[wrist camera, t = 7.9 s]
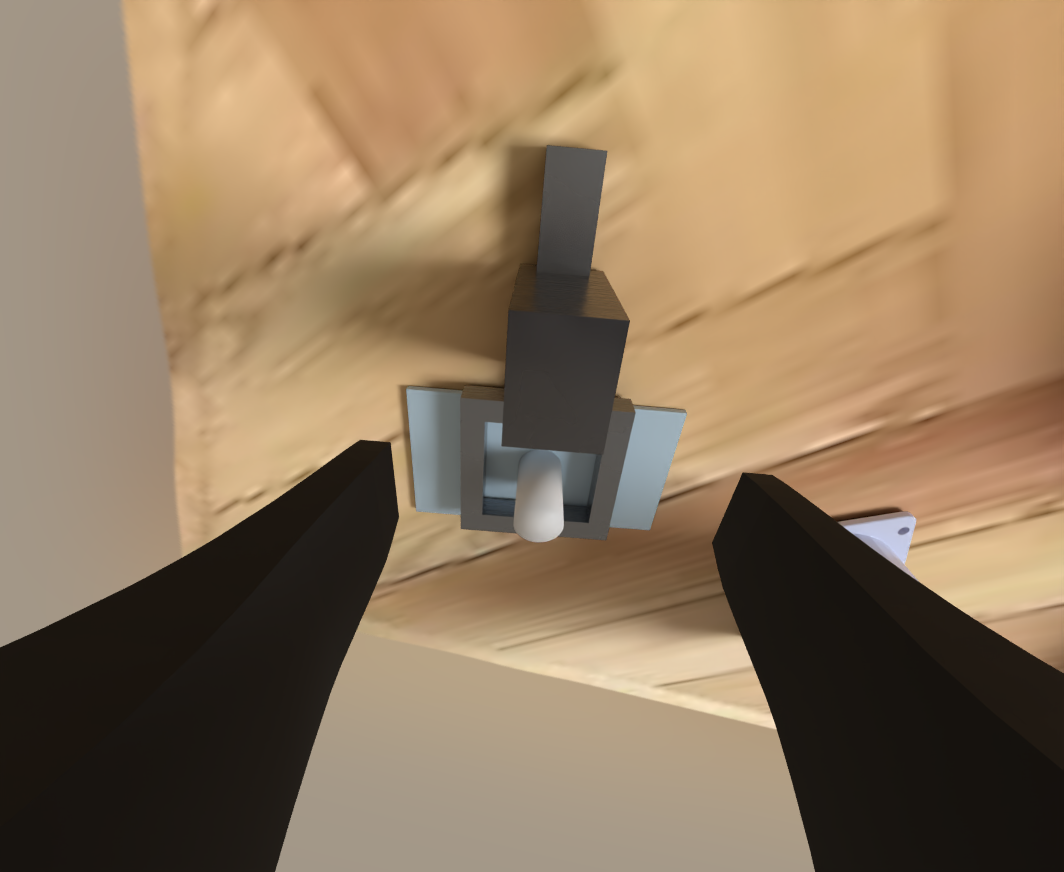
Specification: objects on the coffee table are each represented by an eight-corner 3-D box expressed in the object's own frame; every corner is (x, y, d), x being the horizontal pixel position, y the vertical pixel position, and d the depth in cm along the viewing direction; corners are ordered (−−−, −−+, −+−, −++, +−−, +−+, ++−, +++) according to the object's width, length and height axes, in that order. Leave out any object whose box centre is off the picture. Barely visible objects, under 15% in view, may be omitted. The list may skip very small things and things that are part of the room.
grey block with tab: (465, 138, 14) (419, 124, 9) (683, 159, 14) (760, 156, 9) (464, 512, 22) (440, 615, 17) (603, 523, 22) (620, 629, 17)
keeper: (407, 385, 19) (377, 438, 16) (685, 409, 19) (714, 467, 16) (417, 507, 23) (394, 571, 19) (648, 526, 23) (666, 592, 20)
